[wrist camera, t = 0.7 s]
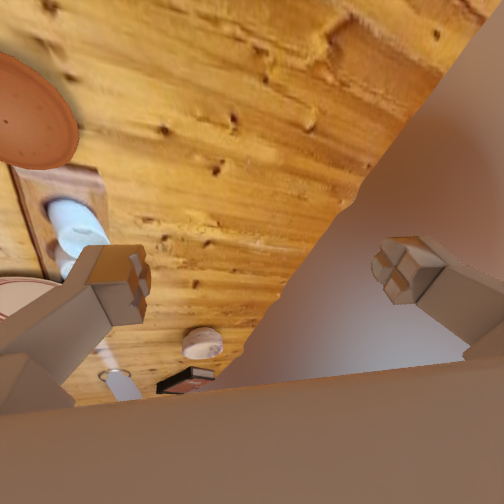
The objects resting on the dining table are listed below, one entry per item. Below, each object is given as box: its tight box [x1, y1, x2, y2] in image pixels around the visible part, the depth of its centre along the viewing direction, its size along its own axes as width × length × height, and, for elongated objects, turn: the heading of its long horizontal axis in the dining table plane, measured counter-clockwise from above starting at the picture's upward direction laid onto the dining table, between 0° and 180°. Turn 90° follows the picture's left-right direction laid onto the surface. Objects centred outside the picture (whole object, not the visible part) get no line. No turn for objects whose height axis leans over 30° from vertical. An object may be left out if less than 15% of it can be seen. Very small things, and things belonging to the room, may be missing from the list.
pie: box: [0, 52, 79, 170], centre depth 34 cm, size 15×16×5 cm
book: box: [156, 367, 215, 395], centre depth 133 cm, size 26×18×5 cm
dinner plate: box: [0, 277, 62, 322], centre depth 66 cm, size 28×27×3 cm
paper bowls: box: [182, 327, 223, 360], centre depth 96 cm, size 15×15×8 cm
